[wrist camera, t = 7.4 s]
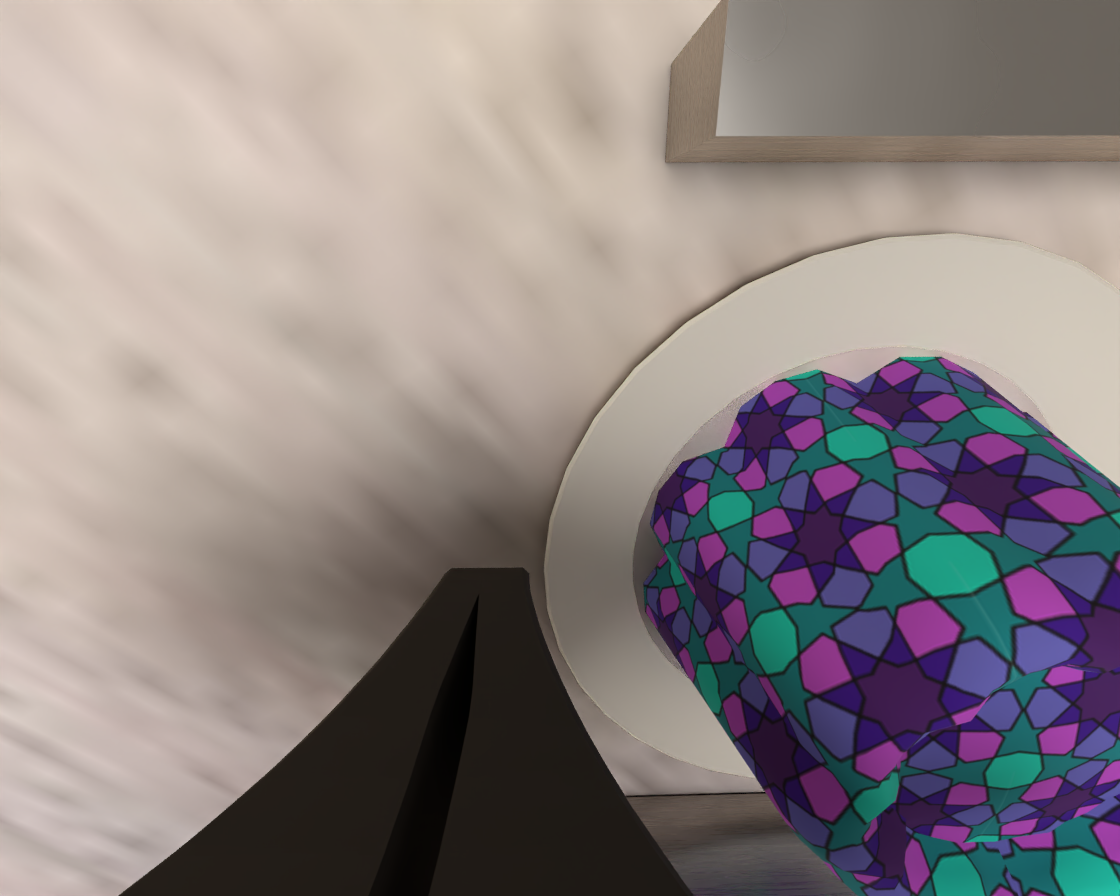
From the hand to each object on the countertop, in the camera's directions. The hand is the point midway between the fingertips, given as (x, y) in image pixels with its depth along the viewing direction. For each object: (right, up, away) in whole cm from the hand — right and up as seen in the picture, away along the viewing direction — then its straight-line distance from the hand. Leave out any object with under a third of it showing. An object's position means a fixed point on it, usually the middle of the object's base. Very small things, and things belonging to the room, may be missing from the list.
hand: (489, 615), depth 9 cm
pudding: (+7, +1, +2) cm, 7 cm away
